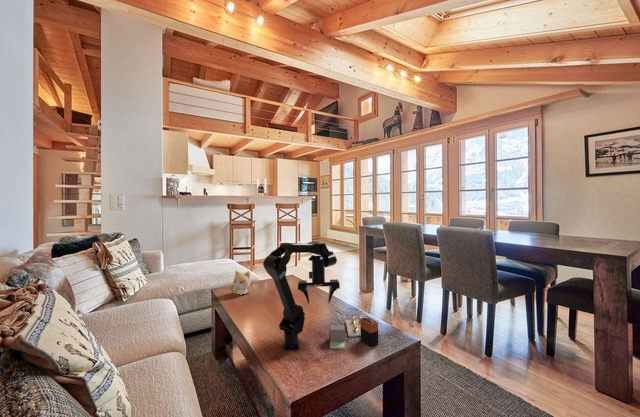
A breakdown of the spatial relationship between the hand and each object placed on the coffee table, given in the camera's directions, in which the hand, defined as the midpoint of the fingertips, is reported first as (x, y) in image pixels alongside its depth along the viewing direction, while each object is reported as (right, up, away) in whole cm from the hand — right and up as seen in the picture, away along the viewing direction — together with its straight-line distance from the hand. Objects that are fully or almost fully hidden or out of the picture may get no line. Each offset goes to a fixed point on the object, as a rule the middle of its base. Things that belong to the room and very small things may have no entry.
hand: (318, 303), depth 122 cm
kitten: (-50, -12, +50) cm, 72 cm away
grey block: (+8, -13, -10) cm, 18 cm away
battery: (+21, -12, -11) cm, 27 cm away
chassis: (+18, -12, 0) cm, 21 cm away
